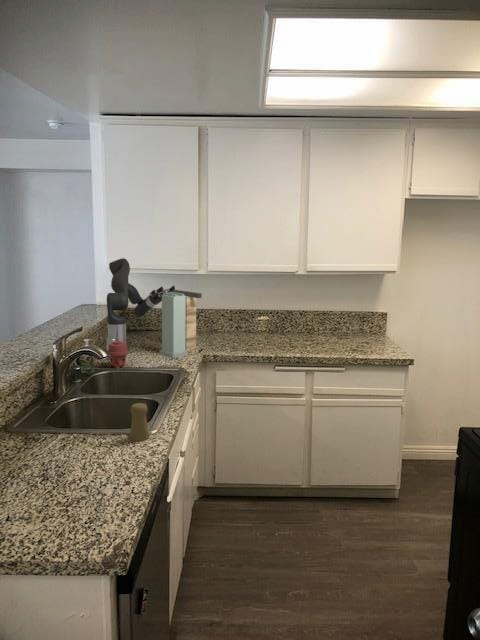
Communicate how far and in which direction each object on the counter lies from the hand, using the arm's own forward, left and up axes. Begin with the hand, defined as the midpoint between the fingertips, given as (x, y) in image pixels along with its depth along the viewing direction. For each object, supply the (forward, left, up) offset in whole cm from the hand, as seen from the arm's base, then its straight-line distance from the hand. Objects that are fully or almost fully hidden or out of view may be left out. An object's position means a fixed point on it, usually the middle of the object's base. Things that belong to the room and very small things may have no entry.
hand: (168, 287), depth 281 cm
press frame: (-14, -23, -33) cm, 43 cm away
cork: (-91, -103, -34) cm, 141 cm away
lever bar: (0, -17, -3) cm, 17 cm away
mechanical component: (-50, -26, -34) cm, 66 cm away
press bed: (0, -16, -33) cm, 37 cm away
